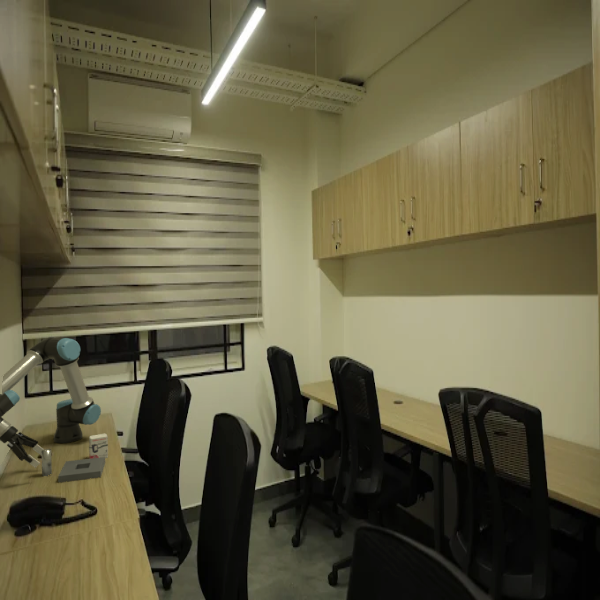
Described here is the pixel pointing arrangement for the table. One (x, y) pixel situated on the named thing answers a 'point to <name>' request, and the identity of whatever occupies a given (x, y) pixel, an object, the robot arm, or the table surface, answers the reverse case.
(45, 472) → the steel pin
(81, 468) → the hole block
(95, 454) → the ink box
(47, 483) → the table surface
